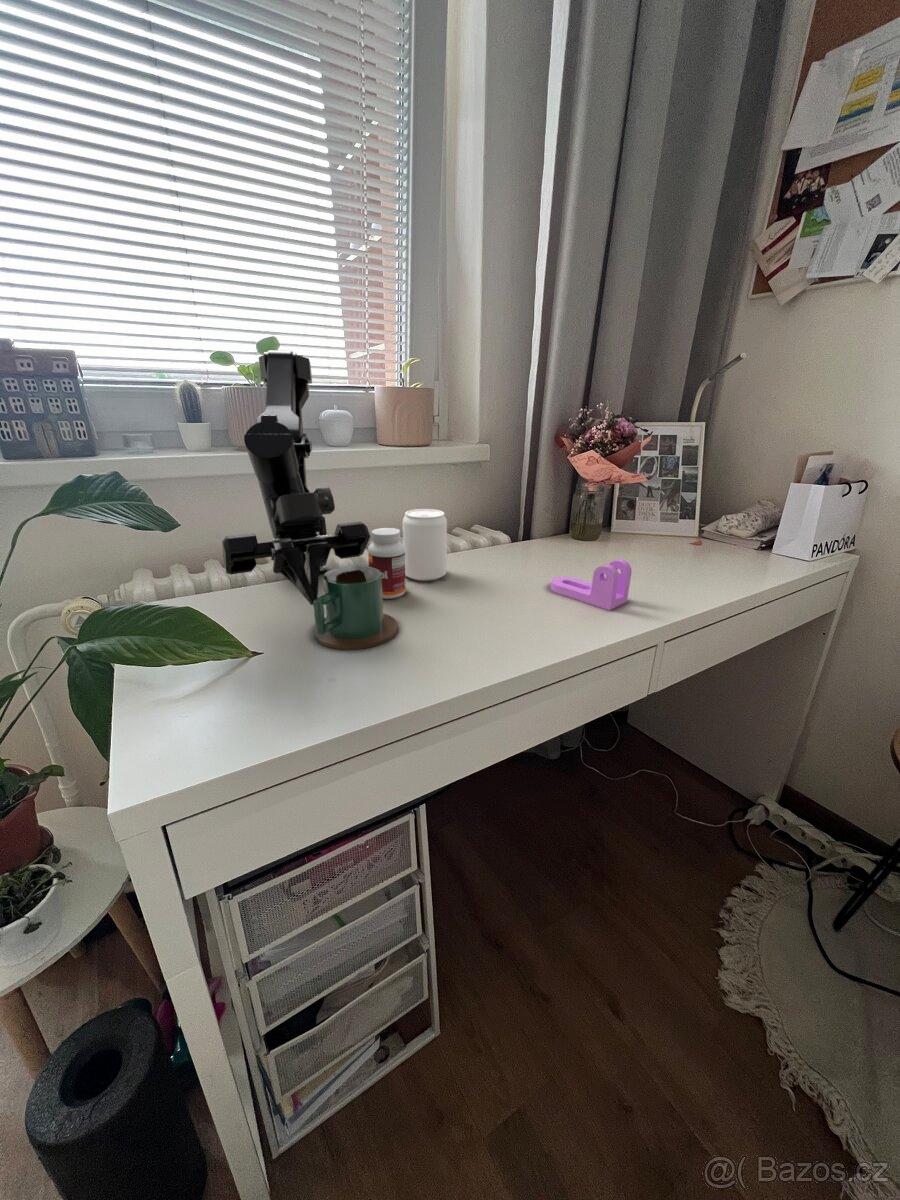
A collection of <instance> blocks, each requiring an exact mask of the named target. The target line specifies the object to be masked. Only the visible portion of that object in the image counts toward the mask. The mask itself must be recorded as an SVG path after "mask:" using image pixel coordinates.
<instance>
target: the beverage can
mask: <svg viewBox="0 0 900 1200" xmlns="http://www.w3.org/2000/svg"><path fill="white" fill-rule="evenodd" d="M402 544H403V545H404V547H405V577H407V578H410V579H412V580H415V581H420V582H429V581H435V580H438V579H440V578H443V577H444V576H445V575H446V574H447V562H448V561H447V554H448V553H447V552H448V549H447V545H448V519H447V518H446V516H445V512H444V511H443V510H439V509H434V508H433V509H432V508H417V509H410V510H407V511H405V513H404V516H403V518H402Z"/></svg>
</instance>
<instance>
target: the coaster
mask: <svg viewBox="0 0 900 1200" xmlns="http://www.w3.org/2000/svg"><path fill="white" fill-rule="evenodd" d="M324 619H325V623H327V616H326V617H324ZM383 619H384V627H383V629H382V630H381V631H380V632H378V633H377V634H375V635H372V636H369V637H365V638H359V639H345V638H339V637H336V636H334V635H332V634H330V633H329V632H327V633H325V634H324V635H318V634H317V633H316V625H314V627H313V637H314V639H315V641H316V642H318V643H319V644H321V645H322V646H325V647H328V648H332V649H338V650H349V651H350V650H351V651H352V650H363V649H369V648H373V647H377V646H380V645H383V644H385V643H388V642H389V641H391V640H392V639H393V638H394V637H395V636H396V634H397V633H398V630H399V629H398V627H399V626H398V622H397V620H396V619H395V618H394V617H392V616H391V615H389V614H386V613H384V612H383Z"/></svg>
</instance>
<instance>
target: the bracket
mask: <svg viewBox="0 0 900 1200" xmlns="http://www.w3.org/2000/svg"><path fill="white" fill-rule="evenodd" d="M618 569H619V570H618ZM619 571H620V573H619ZM632 573H633V572H632V566H631V565H630V563H629V562H628V561H627V560H625V559H622V558H620V559H616V560H613V561H611V562H609V564H603V565H600V566H598V567H596V568H595V569H594V571H593V575H592V582H589V581H586V580H583V579H579V578H576V577H572V576H556V577H553V578H551V580H550V590H551V591H552V592H554V593H556V594H559V595H562V596H565V597H567V598H571V599H574V600H577V601H579V602H582V603H587V604H589V605H593V606H596V607H599V608H602V609H604V610H607V611H611V610H613V609H615V608H617V607H620V606H622V605H624V604H625V603H627V602H628V598H629V593H630V592H629V591H630V585H631V578H632Z"/></svg>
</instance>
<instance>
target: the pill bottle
mask: <svg viewBox="0 0 900 1200" xmlns="http://www.w3.org/2000/svg"><path fill="white" fill-rule="evenodd" d="M371 540H372V541H373V542H371V543H370V544H369V545H368V548H367V556H368V557H367V558H368V560H367V561H368V567H372V568H375V569H378V570H379V571H380V572H381V573H382V595H383V599H386V600H387V599H388V600H390V599H397V598H399V597H401V596H403V595H404V594H405V593H406V588H407V586H406V585H407V583H406V579H407V578H406V575H405V547H404V545H403V542H401V541H400V540H401V530H400V529H398V528H394V527H380V528H375V529H373V530H371Z"/></svg>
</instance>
